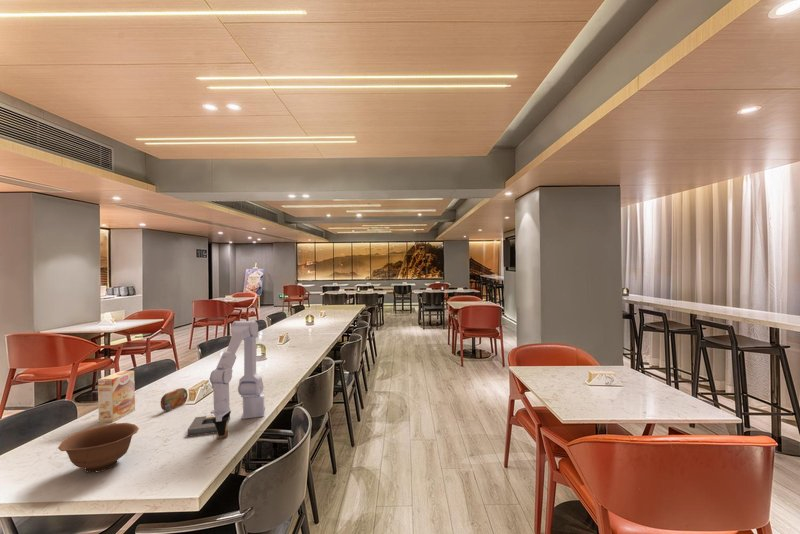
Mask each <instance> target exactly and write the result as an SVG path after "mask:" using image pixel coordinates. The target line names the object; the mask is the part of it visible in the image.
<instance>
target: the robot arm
mask: <svg viewBox="0 0 800 534" xmlns="http://www.w3.org/2000/svg"><path fill="white" fill-rule="evenodd" d="M230 333H231V337H230V340H229V343H228V346H227V349H226V351H224V352H223V353H222V354H221V357H220V358H219V361H218V363H217V365H216V368H214V370H212V371H211V373H210V375H209V383H210V384H211V388H212V389H213V391H212V393H213V394H212V395H213V410H210V414H211V415H215V416H216V418H213V423H214V424H215V426H216V429H217V432H218V435H219V436H223V435H224V434H225V429H226V423H227V421H228V419H229V415H230V416H231V413H232V410H231V407H230V404H231V403H230V382H231V380H232V378H233V368H234V365H235V362H236V359H237V355H236V353H237V351H238V349H239V347H240V345H241V343H242V342H244V343H243V345H244V346H243V347H244V348H243V350H244V351H243V353H244V355H243V361H244V362H243V366H244V367H243V371H244V373H243V374H244V375H243V376H241V378H239V380H238V381H239V382H238V386H237V392H238V394H239V395H240V397H241V398H242V416H241V420H244V419H245V420H246V419H252V418H253V419H254V418H260V417H261V418H262V417H265V411H266V406H265V394H262V393H263V392H264V382H263V377H262V376H260V375H259V374H257V338H258V337H259V324H258V322H257V321H256V320H234V321H233V322H232V324H231V328H230ZM217 432H216V433H217Z"/></svg>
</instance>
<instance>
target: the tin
mask: <svg viewBox="0 0 800 534" xmlns="http://www.w3.org/2000/svg"><path fill="white" fill-rule="evenodd" d="M188 395H189V394H188V390H187V389H186V388H184V387H183V388H176V389H174V390H171V391H169V392H167V393H165V394H163V395H162V397H161V399H160V408H161V410H162V411H165V412H166V411H169V412H171V411H173V410H175V409H177V408H179V407H182V406H184V404H186V402H187V400H188V397H189V396H188ZM172 409H173V410H172ZM170 410H171V411H170Z"/></svg>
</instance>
